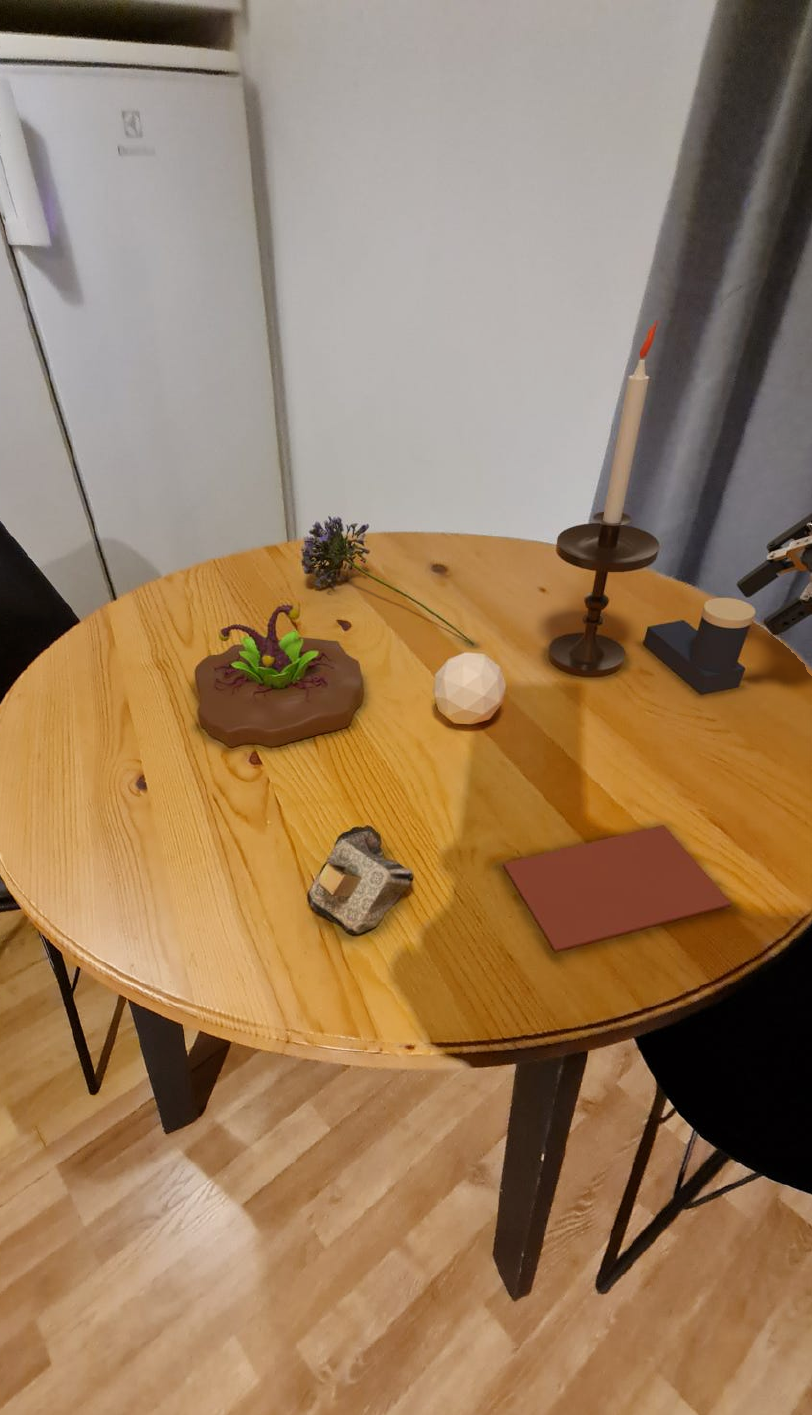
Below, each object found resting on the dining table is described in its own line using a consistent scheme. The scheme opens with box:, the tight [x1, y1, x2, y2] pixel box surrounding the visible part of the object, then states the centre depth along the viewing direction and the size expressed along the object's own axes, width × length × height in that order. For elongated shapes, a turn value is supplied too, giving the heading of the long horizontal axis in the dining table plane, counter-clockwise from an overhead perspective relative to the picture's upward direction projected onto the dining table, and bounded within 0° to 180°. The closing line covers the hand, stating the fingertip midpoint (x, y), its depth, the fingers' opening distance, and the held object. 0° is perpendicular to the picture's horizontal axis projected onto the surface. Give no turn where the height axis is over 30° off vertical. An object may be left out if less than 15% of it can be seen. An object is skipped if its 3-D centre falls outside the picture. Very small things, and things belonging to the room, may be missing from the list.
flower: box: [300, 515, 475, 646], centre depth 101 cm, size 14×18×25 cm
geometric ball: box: [432, 651, 507, 725], centre depth 81 cm, size 8×8×8 cm
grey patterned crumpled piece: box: [306, 824, 415, 935], centre depth 64 cm, size 8×7×12 cm
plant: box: [194, 604, 364, 748], centre depth 85 cm, size 20×20×11 cm
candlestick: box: [547, 319, 660, 678], centre depth 80 cm, size 11×11×35 cm
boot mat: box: [502, 824, 733, 953], centre depth 64 cm, size 16×10×1 cm, turn 106°
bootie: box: [643, 597, 756, 696], centre depth 87 cm, size 12×5×9 cm, turn 16°
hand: (754, 609), depth 81 cm, fingers open, 8 cm apart
